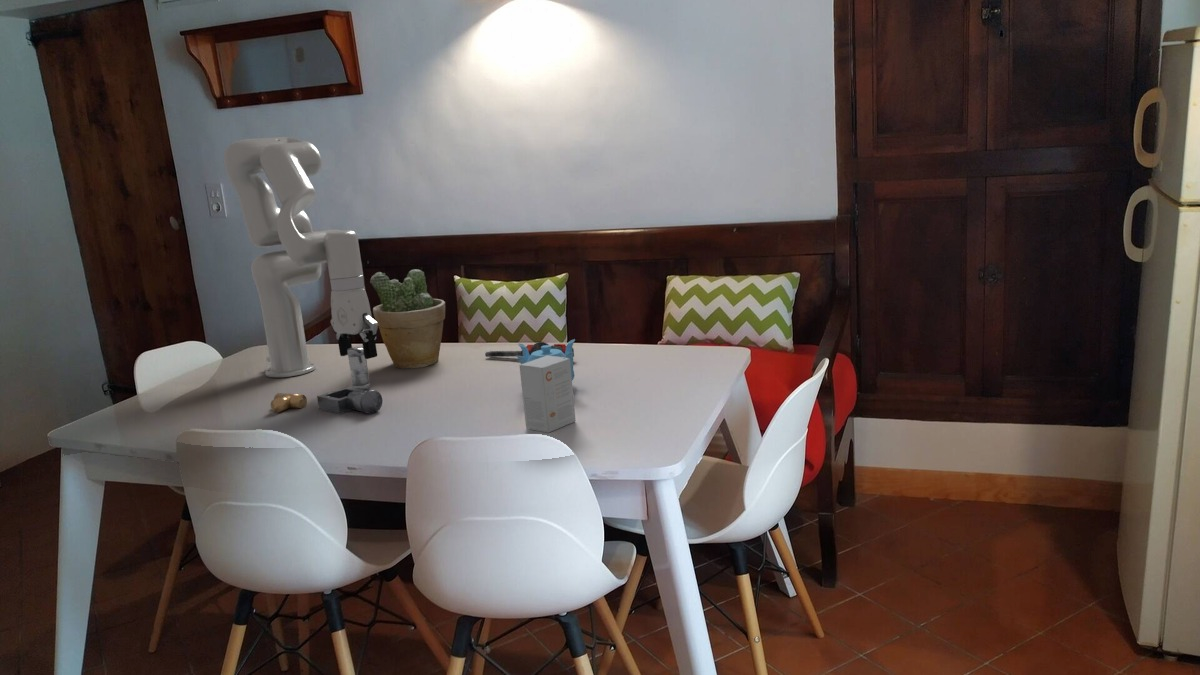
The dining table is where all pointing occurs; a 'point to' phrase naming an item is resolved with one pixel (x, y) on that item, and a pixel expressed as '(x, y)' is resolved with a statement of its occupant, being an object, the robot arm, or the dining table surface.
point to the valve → (530, 348)
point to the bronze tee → (287, 402)
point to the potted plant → (409, 319)
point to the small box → (547, 393)
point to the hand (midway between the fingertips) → (358, 356)
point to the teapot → (547, 354)
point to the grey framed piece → (350, 401)
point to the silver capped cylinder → (358, 368)
